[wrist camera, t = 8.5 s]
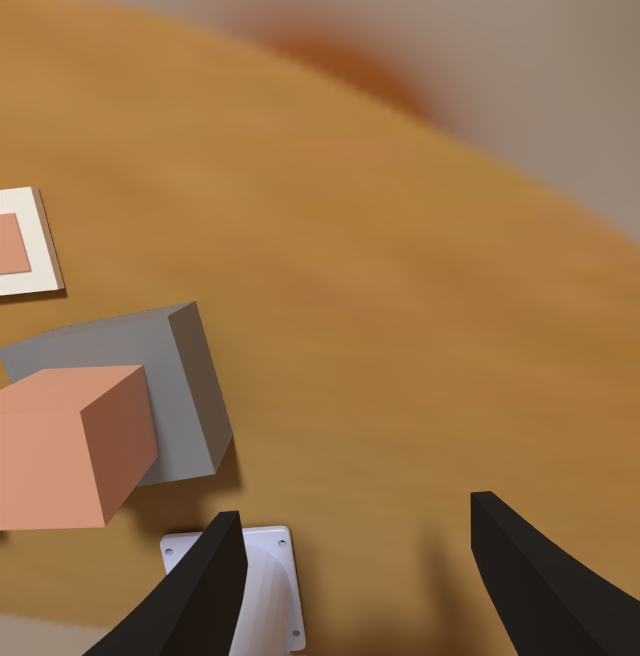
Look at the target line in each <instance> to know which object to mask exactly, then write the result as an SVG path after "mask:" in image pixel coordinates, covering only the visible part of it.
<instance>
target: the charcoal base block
mask: <svg viewBox="0 0 640 656" xmlns="http://www.w3.org/2000/svg"><path fill="white" fill-rule="evenodd" d="M0 357H1V359H2V362H3V364H4V366H5V369H6V371H7V374H8V376H9V378H10V381H11V383H12V384H14V383H16V382H18V381H20V380H22V379H24V378H26V377H28V376H30V375H32V374H34V373H36V372H38V371H40V370H42V369H56V368H80V367H104V366H128V365H143V367H144V373H145V379H146V385H147V390H148V396H149V402H150V408H151V414H152V420H153V426H154V432H155V437H156V443H157V449H158V455H159V456H158V457H157V458H156V460H155V461H154V462H153V464H152V465H151V466H150V468H149V469H148V470H147V472H146V473H145V474H144V476H143V477H142V478H141V480H140V481H139V482H138V484H137V485H136V486H135V487H141V486H147V485H153V484H159V483H165V482H171V481H177V480H183V479H189V478H195V477H201V476H207V475H213V474H216V472H217V469H218V467H219V465H220V463H221V461H222V459H223V456H224V454H225V452H226V450H227V448H228V445H229V443H230V441H231V439H232V437H233V432H232V429H231V425H230V422H229V418H228V415H227V411H226V408H225V404H224V401H223V397H222V393H221V390H220V386H219V383H218V379H217V376H216V372H215V369H214V365H213V362H212V358H211V354H210V351H209V347H208V344H207V340H206V337H205V333H204V330H203V326H202V323H201V319H200V315H199V312H198V308H197V305H196V301H193V302H188V303H183V304H178V305H173V306H168V307H163V308H158V309H152V310H147V311H142V312H137V313H132V314H127V315H122V316H117V317H112V318H107V319H102V320H97V321H92V322H87V323H82V324H77V325H72V326H67V327H62V328H57V329H53V330H50V331H47V332H45V333H42V334H39V335H36V336H34V337H31V338H28V339H25V340H23V341H20V342H17V343H14V344H11V345H9V346H6V347H3V348H0Z"/></svg>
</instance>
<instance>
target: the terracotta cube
mask: <svg viewBox="0 0 640 656" xmlns="http://www.w3.org/2000/svg"><path fill="white" fill-rule="evenodd" d="M158 456H159V455H158V449H157V443H156V437H155V432H154V426H153V420H152V414H151V408H150V402H149V396H148V390H147V385H146V379H145V373H144V367H143V365H128V366H104V367H80V368H56V369H42V370H40V371H38V372H36V373H34V374H32V375H30V376H28V377H26V378H24V379H22V380H20V381H18V382H16V383H14V384H12V385H10V386H7V387H5V388H3V389H1V390H0V530H23V529H56V528H88V527H106V525H107V524H108V523H109V521H110V520H111V519H112V517H113V516H114V515H115V513H116V512H117V511H118V509H119V508H120V507H121V505H122V504H123V503H124V501H125V500H126V498H127V497H128V496H129V494H130V493H131V492H132V490H133V489H134V488H135V486H136V485H137V484H138V482H139V481H140V480H141V478H142V477H143V476H144V474H145V473H146V472H147V470H148V469H149V468H150V466H151V465H152V464H153V462H154V461H155V460H156V458H157V457H158Z"/></svg>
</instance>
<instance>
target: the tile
mask: <svg viewBox="0 0 640 656" xmlns="http://www.w3.org/2000/svg"><path fill="white" fill-rule="evenodd" d="M62 288H65V287H64V283H63V279H62V276H61V272H60V268H59V264H58V261H57V257H56V253H55V249H54V246H53V242H52V238H51V234H50V231H49V227H48V223H47V219H46V216H45V212H44V208H43V204H42V201H41V197H40V193H39V189H38V188H36V187H24V188H15V189H7V190H0V295H9V294H19V293H28V292H38V291H47V290H57V289H62Z"/></svg>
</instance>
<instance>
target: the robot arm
mask: <svg viewBox="0 0 640 656" xmlns="http://www.w3.org/2000/svg"><path fill="white" fill-rule="evenodd" d="M281 540H284V541H286V542H281ZM160 549H161V553H162V557H163V561H164V565H165V569H166V573H167V576H166V577H165V578H164V579H163V580H162V581H161V582H160V583H159V584H158V585H157V586H156V588H155V589H154V590H153V591H152V592H151V593H150V594H149V595H148V596H147V597H146V598H145V599H144V600H143V601H142V602H141V603H140V604H139V605H138V606H137V607H136V608H135V609H134V610H133V611H132V612H131V613H130V614H129V615H128V616H127V617H126V618H125V619H124V620H122V621H121V622H120V623H119V624H118V625H117V626H116V627H115V628H114V629H113V630H112V631H110V632H109V633H108V634H107V635H106V636H104V637H103V638H102V639H101V640H100V641H99V642H97V643H96V644H95V645H94V646H93V647H91V648H90V649H89V650H88V651H87V652H86V653H84V654H83V655H82V656H290V651H299V650H302V649H304V648H305V645H306V637H305V630H304V623H303V616H302V610H301V603H300V596H299V589H298V582H297V576H296V569H295V562H294V555H293V548H292V541H291V535H290V530H289V529H288V528H287V527H285V526H270V527H257V528H244V529H242V526H241V521H240V515H239V511H228V512H219V513H218V515H217V516H216V517H215V518H214V519H213V521H212V522H211V523H210V524H209V526H208V527H207V528H206V529H205V530H204V532H191V533H178V534H167V535H165V536H163V538H162V539H161V541H160ZM169 549H171V550H173V551H171V550H169ZM471 549H472V552H473V555H474V558H475V561H476V563H477V566H478V569H479V572H480V575H481V577H482V580H483V583H484V585H485V587H486V589H487V591H488V594H489V596H490V598H491V600H492V602H493V604H494V606H495V608H496V610H497V612H498V614H499V616H500V619H501V621H502V623H503V625H504V627H505V629H506V631H507V633H508V635H509V637H510V639H511V641H512V643H513V645H514V647H515V649H516V651H517V653H518V656H640V601H638V600H637V599H635V598H633V597H632V596H630V595H628V594H627V593H625V592H624V591H622V590H621V589H619V588H618V587H616V586H614V585H613V584H611V583H610V582H608V581H607V580H605V579H603V578H602V577H600V576H599V575H597V574H596V573H594V572H593V571H591V570H590V569H589V568H587V567H586V566H584V565H583V564H582V563H580V562H579V561H577V560H576V559H575V558H573V557H572V556H571V555H569V554H568V553H566V552H565V551H564V550H562V549H561V548H560V547H558V546H557V545H556V544H554V543H553V542H552V541H551V540H549V539H548V538H547V537H545V536H544V535H543V534H542V533H540V532H539V531H538V530H537V529H535V528H534V527H533V526H532V525H531V524H529V523H528V522H527V521H526V520H525V519H523V518H522V517H521V516H520V515H519V514H517V513H516V512H515V511H514V510H513V509H511V508H510V507H509V506H508V505H507V504H506V503H504V502H503V501H502V500H501V499H500V498H499V497H497V496H496V495H495V494H494V493H493V492H491V491H485V492H472V493H471Z"/></svg>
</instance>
